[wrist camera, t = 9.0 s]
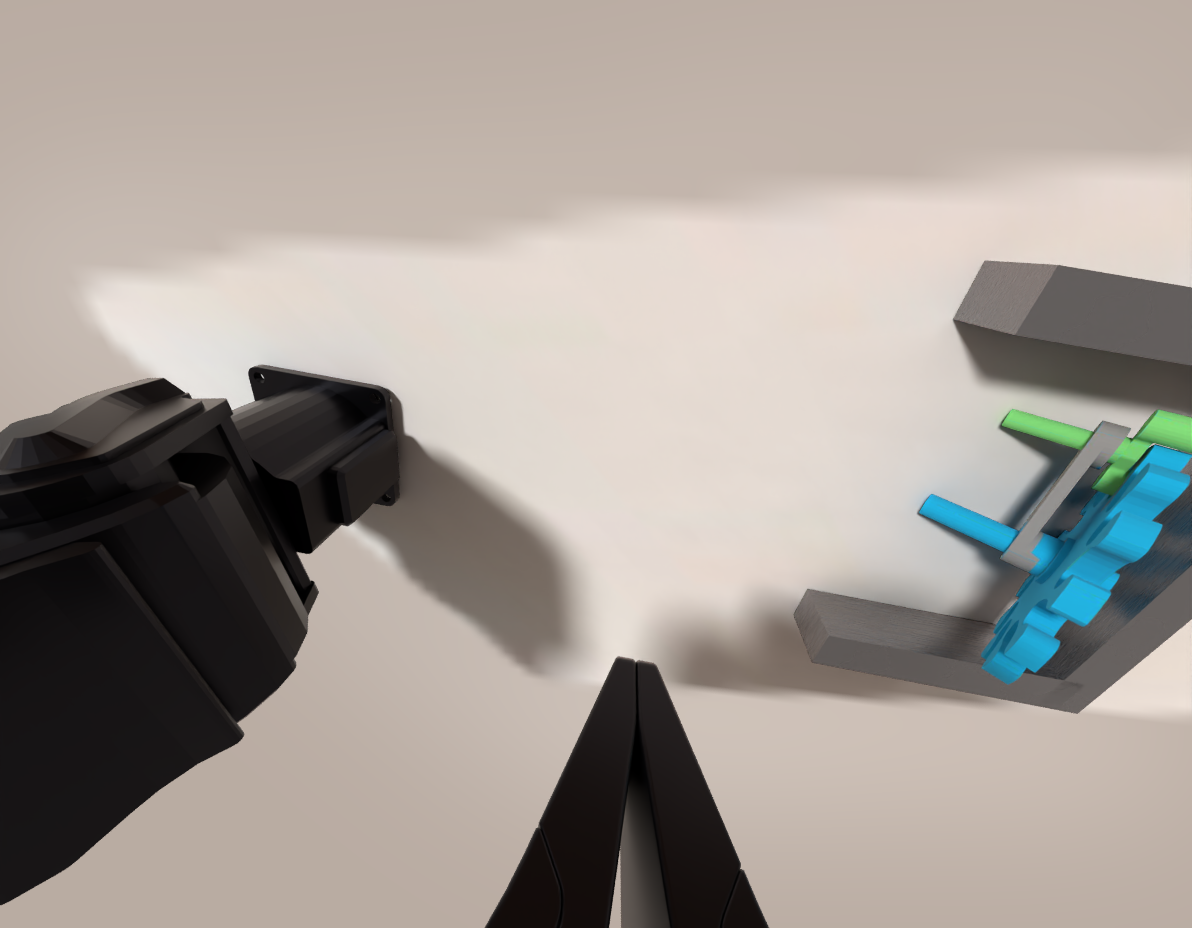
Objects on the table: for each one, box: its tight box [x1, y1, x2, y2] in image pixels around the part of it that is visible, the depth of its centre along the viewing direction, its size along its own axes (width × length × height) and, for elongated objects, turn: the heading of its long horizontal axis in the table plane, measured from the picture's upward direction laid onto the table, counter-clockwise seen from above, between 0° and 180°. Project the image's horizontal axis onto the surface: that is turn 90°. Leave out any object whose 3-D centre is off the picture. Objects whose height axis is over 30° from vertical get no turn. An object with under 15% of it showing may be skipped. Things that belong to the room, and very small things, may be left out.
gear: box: [919, 409, 1192, 685], centre depth 17 cm, size 11×6×10 cm
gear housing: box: [794, 261, 1192, 714], centre depth 18 cm, size 13×18×3 cm
